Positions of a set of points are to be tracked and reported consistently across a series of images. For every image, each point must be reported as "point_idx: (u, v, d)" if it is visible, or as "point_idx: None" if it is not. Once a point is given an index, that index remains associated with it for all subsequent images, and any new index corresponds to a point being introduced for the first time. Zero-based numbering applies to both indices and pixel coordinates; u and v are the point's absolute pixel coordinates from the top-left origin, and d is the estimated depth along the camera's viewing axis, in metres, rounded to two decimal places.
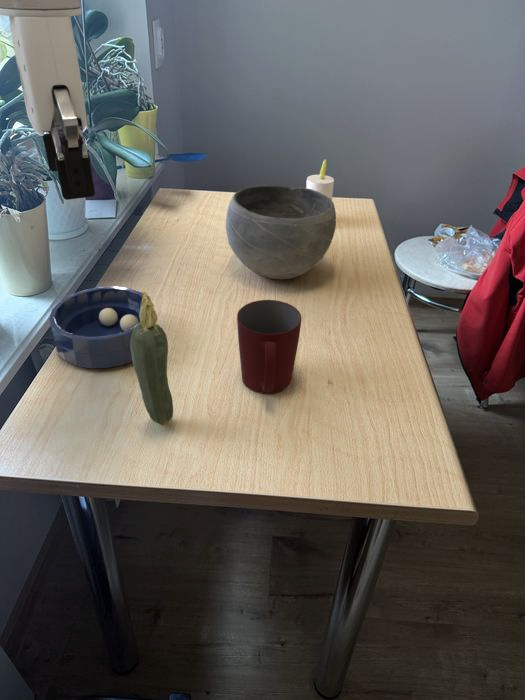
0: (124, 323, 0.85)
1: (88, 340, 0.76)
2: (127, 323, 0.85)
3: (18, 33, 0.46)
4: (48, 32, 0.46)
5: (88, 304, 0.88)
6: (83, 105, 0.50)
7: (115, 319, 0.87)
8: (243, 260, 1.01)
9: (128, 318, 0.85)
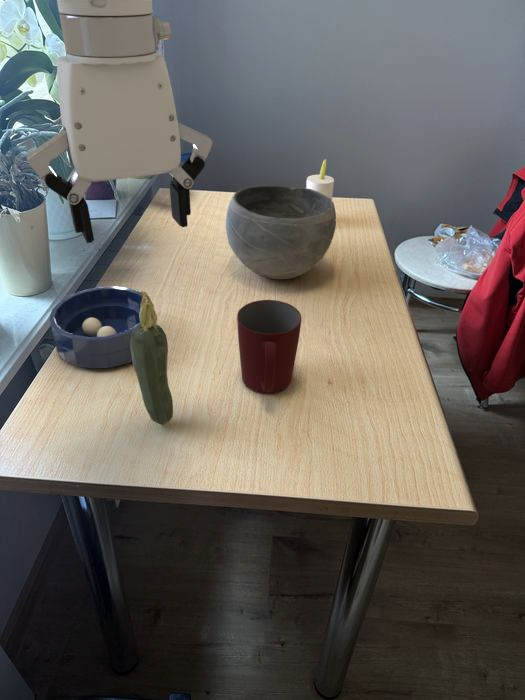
0: None
1: (88, 340, 0.76)
2: None
3: None
4: (59, 75, 0.44)
5: (88, 304, 0.88)
6: (75, 154, 0.47)
7: (96, 325, 0.84)
8: (243, 260, 1.01)
9: None
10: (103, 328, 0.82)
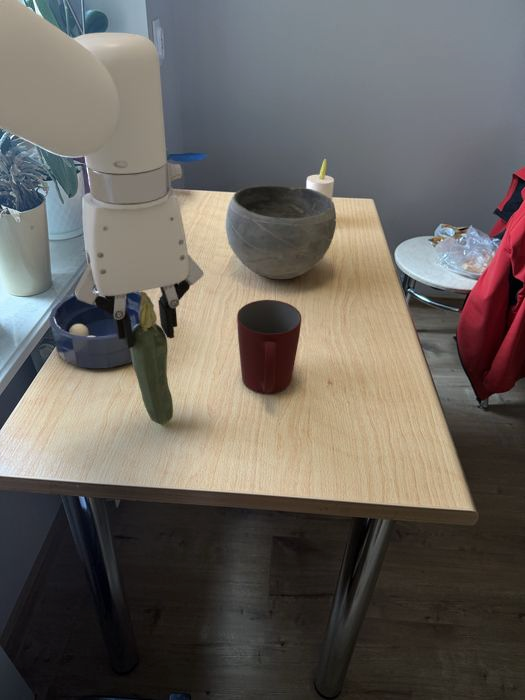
0: (90, 336, 0.81)
1: (88, 340, 0.76)
2: None
3: None
4: (85, 212, 0.51)
5: (88, 304, 0.88)
6: (96, 277, 0.53)
7: None
8: (243, 260, 1.01)
9: (94, 336, 0.81)
10: None
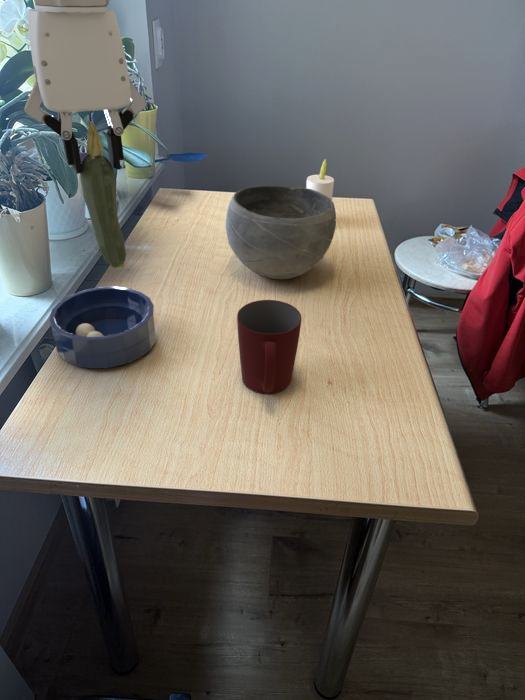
0: None
1: (88, 340, 0.76)
2: None
3: None
4: (29, 22, 0.56)
5: (88, 304, 0.88)
6: (42, 87, 0.58)
7: None
8: (243, 260, 1.01)
9: None
10: None
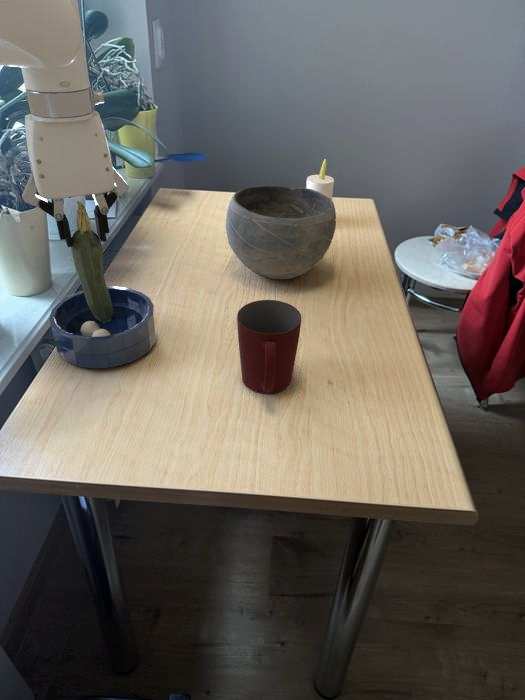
0: None
1: (88, 340, 0.76)
2: None
3: None
4: (26, 127, 0.66)
5: None
6: (37, 180, 0.68)
7: (90, 332, 0.83)
8: (243, 260, 1.01)
9: None
10: None
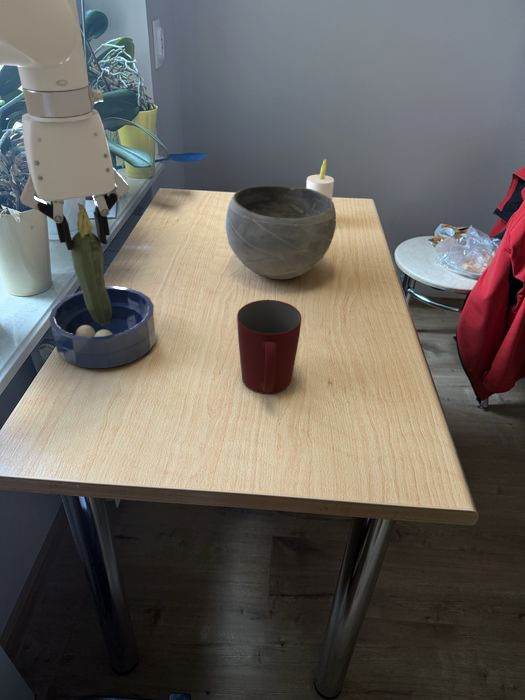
0: None
1: (88, 340, 0.76)
2: None
3: None
4: (23, 127, 0.63)
5: None
6: (35, 182, 0.66)
7: None
8: (243, 260, 1.01)
9: None
10: None
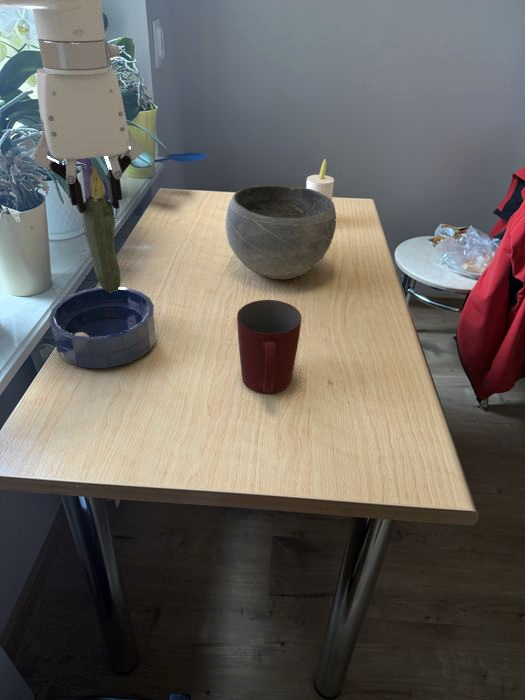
0: None
1: (88, 340, 0.76)
2: None
3: None
4: (38, 81, 0.62)
5: (88, 304, 0.88)
6: (49, 139, 0.64)
7: None
8: (243, 260, 1.01)
9: None
10: None
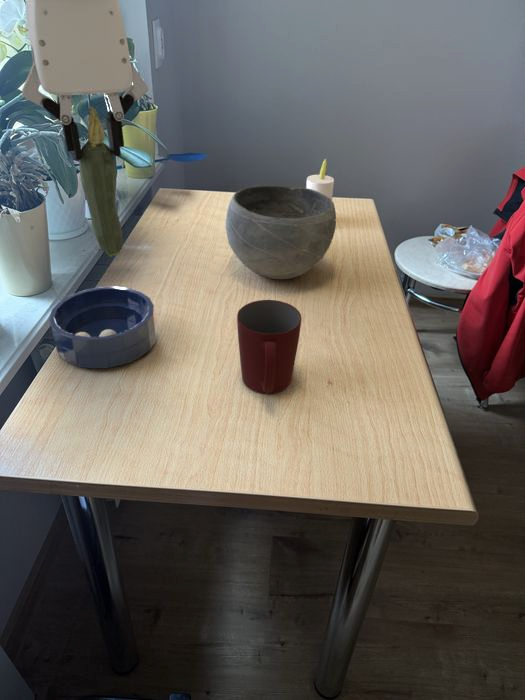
0: None
1: (88, 340, 0.76)
2: None
3: None
4: None
5: (88, 304, 0.88)
6: (40, 68, 0.56)
7: None
8: (243, 260, 1.01)
9: None
10: None
